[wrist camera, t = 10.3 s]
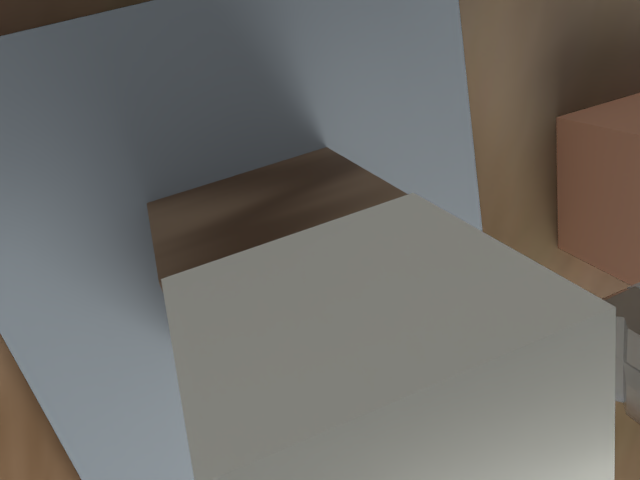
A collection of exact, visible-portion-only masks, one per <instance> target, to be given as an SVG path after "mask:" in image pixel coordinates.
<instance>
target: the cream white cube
mask: <svg viewBox="0 0 640 480" xmlns="http://www.w3.org/2000/svg"><path fill="white" fill-rule="evenodd" d="M161 282H162V288H163V294H164V300H165V306H166V312H167V318H168V324H169V330H170V336H171V342H172V348H173V354H174V360H175V366H176V372H177V378H178V384H179V390H180V396H181V402H182V409H183V415H184V421H185V427H186V433H187V439H188V445H189V451H190V457H191V463H192V469H193V475H194V480H614V468H615V349H616V307H615V306H613V305H611V304H610V303H608V302H606V301H604V300H602V299H601V298H599V297H597V296H595V295H594V294H592V293H590V292H588V291H587V290H585V289H583V288H581V287H579V286H578V285H576V284H574V283H572V282H571V281H569V280H567V279H565V278H563V277H562V276H560V275H558V274H556V273H555V272H553V271H551V270H549V269H548V268H546V267H544V266H542V265H540V264H539V263H537V262H535V261H533V260H532V259H530V258H528V257H526V256H525V255H523V254H521V253H519V252H517V251H516V250H514V249H512V248H510V247H509V246H507V245H505V244H503V243H502V242H500V241H498V240H496V239H494V238H493V237H491V236H489V235H487V234H486V233H484V232H482V231H480V230H479V229H477V228H475V227H473V226H471V225H470V224H468V223H466V222H464V221H463V220H461V219H459V218H457V217H456V216H454V215H452V214H450V213H448V212H447V211H445V210H443V209H441V208H440V207H438V206H436V205H434V204H433V203H431V202H429V201H427V200H425V199H424V198H422V197H420V196H418V195H417V194H415V193H411V194H408V195H405V196H402V197H399V198H396V199H393V200H390V201H388V202H385V203H382V204H379V205H376V206H373V207H370V208H367V209H364V210H361V211H358V212H355V213H353V214H350V215H347V216H344V217H341V218H338V219H335V220H332V221H329V222H326V223H323V224H320V225H317V226H315V227H312V228H309V229H306V230H303V231H300V232H297V233H294V234H291V235H288V236H285V237H282V238H279V239H277V240H274V241H271V242H268V243H265V244H262V245H259V246H256V247H253V248H250V249H247V250H244V251H241V252H239V253H236V254H233V255H230V256H227V257H224V258H221V259H218V260H215V261H212V262H209V263H206V264H203V265H201V266H198V267H195V268H192V269H189V270H186V271H183V272H180V273H177V274H174V275H171V276H168V277H166V278H163V279H161Z"/></svg>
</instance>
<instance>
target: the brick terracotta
mask: <svg viewBox="0 0 640 480" xmlns="http://www.w3.org/2000/svg"><path fill="white" fill-rule="evenodd" d="M556 123H557V204H558V248H559V249H561V250H563V251H565V252H567V253H569V254H571V255H573V256H575V257H577V258H578V259H580V260H582V261H584V262H586V263H588V264H590V265H592V266H594V267H596V268H598V269H600V270H602V271H604V272H606V273H608V274H610V275H612V276H614V277H616V278H618V279H620V280H622V281H624V282H626V283H627V284H629V285H631V286H632V285H634V284H636V283H639V282H640V93H637V94H634V95H630V96H627V97H624V98H620V99H617V100H613V101H610V102H607V103H603V104H600V105H596V106H593V107H590V108H586V109H583V110H579V111H576V112H573V113H569V114H566V115H562V116H559V117H556Z"/></svg>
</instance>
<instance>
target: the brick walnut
mask: <svg viewBox="0 0 640 480" xmlns="http://www.w3.org/2000/svg"><path fill="white" fill-rule="evenodd" d="M405 195H408V194H407V193H405V192H403V191H402V190H400V189H398V188H396V187H395V186H393V185H391V184H390V183H388V182H386V181H384V180H383V179H381V178H379V177H377V176H376V175H374V174H372V173H371V172H369V171H367V170H365V169H364V168H362V167H360V166H359V165H357V164H355V163H353V162H352V161H350V160H348V159H347V158H345V157H343V156H341V155H340V154H338V153H336V152H334V151H333V150H331V149H329V148H328V147H325V148H322V149H319V150H315V151H312V152H309V153H306V154H303V155H299V156H296V157H293V158H290V159H287V160H283V161H280V162H277V163H274V164H271V165H267V166H264V167H261V168H258V169H254V170H251V171H248V172H245V173H242V174H238V175H235V176H232V177H229V178H226V179H222V180H219V181H216V182H213V183H209V184H206V185H203V186H200V187H197V188H193V189H190V190H187V191H184V192H181V193H177V194H174V195H171V196H168V197H164V198H161V199H158V200H155V201H152V202H148V203H147V209H148V216H149V222H150V229H151V235H152V241H153V248H154V254H155V261H156V267H157V273H158V280H159V284H160V287H161V289H162V292H163V288H162V282H161V279H163V278H166V277H168V276H171V275H174V274H177V273H180V272H183V271H186V270H189V269H192V268H195V267H198V266H201V265H203V264H206V263H209V262H212V261H215V260H218V259H221V258H224V257H227V256H230V255H233V254H236V253H239V252H241V251H244V250H247V249H250V248H253V247H256V246H259V245H262V244H265V243H268V242H271V241H274V240H277V239H279V238H282V237H285V236H288V235H291V234H294V233H297V232H300V231H303V230H306V229H309V228H312V227H315V226H317V225H320V224H323V223H326V222H329V221H332V220H335V219H338V218H341V217H344V216H347V215H350V214H353V213H355V212H358V211H361V210H364V209H367V208H370V207H373V206H376V205H379V204H382V203H385V202H388V201H390V200H393V199H396V198H399V197H402V196H405Z"/></svg>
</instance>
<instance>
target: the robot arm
mask: <svg viewBox="0 0 640 480" xmlns="http://www.w3.org/2000/svg"><path fill="white" fill-rule="evenodd" d="M602 300H604V301H606V302H608V303H610V304H611V305H613V306H615V307H616V349H615V401H619V402H623V404H624V408H625V412H626V414H627V415H628V416H629V417H631V418H632V419H633V420H635V421H636V422H637V423H639V424H640V282H639V283H636V284H634V285H632V286H630V287H628V288H627V289H624V290H621V291H619V292H617V293H614V294H612V295H610V296H607V297H605V298H603V299H602Z"/></svg>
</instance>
